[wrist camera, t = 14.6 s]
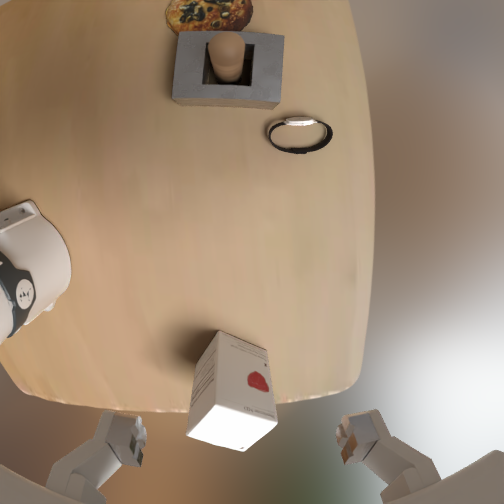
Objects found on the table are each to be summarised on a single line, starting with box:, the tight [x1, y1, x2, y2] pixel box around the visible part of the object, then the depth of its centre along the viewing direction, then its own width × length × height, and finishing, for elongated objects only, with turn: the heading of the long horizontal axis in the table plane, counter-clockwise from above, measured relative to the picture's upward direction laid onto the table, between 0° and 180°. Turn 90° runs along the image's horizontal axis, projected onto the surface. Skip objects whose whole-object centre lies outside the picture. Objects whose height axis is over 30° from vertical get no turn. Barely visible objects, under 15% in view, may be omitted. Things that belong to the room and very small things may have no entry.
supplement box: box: [186, 331, 278, 451], centre depth 37 cm, size 9×9×15 cm
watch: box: [269, 117, 333, 154], centre depth 31 cm, size 8×5×4 cm, turn 97°
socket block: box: [172, 31, 284, 110], centre depth 27 cm, size 11×8×6 cm
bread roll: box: [166, 0, 253, 36], centre depth 25 cm, size 11×11×5 cm
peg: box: [208, 32, 245, 85], centre depth 24 cm, size 3×3×12 cm
